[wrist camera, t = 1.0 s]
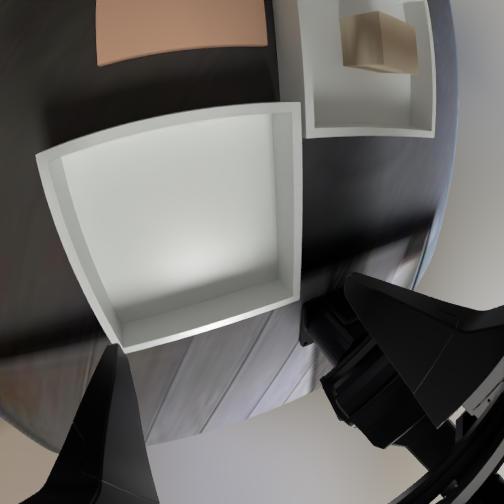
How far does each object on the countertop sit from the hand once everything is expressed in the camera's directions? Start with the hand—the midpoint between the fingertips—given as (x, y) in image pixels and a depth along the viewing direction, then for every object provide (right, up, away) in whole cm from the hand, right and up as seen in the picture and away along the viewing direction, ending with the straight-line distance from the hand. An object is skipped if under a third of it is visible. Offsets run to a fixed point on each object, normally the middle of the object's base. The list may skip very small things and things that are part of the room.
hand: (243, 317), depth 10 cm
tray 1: (-4, +4, +8) cm, 10 cm away
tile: (-4, +18, 0) cm, 18 cm away
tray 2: (+8, +18, +6) cm, 21 cm away
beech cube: (+9, +18, +5) cm, 20 cm away
